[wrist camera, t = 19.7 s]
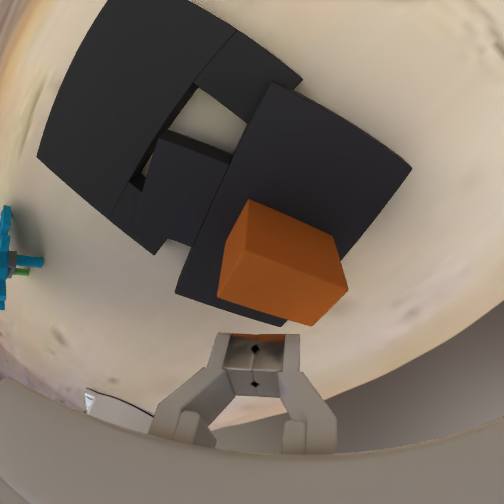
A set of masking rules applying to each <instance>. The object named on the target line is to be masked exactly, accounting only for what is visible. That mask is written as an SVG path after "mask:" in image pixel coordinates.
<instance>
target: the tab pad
mask: <svg viewBox="0 0 504 504" xmlns="http://www.w3.org/2000/svg"><path fill="white" fill-rule="evenodd" d="M411 170H412V167H411V166H410V165H409V164H408V163H407V162H406V161H404V160H403V159H402V158H401V157H400V156H399V155H397V154H396V153H394V152H393V151H392V150H390V149H389V148H388V147H386V146H385V145H383V144H382V143H380V142H379V141H378V140H376V139H375V138H373V137H372V136H370V135H369V134H367V133H366V132H364V131H363V130H361V129H360V128H358V127H357V126H355V125H353V124H352V123H350V122H349V121H347V120H345V119H344V118H342V117H340V116H339V115H337V114H335V113H334V112H332V111H330V110H328V109H327V108H325V107H323V106H321V105H320V104H318V103H316V102H314V101H312V100H311V99H309V98H307V97H305V96H303V95H301V94H299V93H297V92H295V91H293V90H291V89H289V88H287V87H285V86H283V85H281V84H279V83H277V82H275V81H273V80H271V81H270V82H269V84H268V86H267V88H266V90H265V92H264V94H263V96H262V97H261V99H260V101H259V103H258V105H257V107H256V109H255V111H254V113H253V115H252V117H251V119H250V121H249V123H248V125H247V127H246V129H245V131H244V133H243V135H242V137H241V139H240V141H239V143H238V145H237V147H236V149H235V151H234V153H233V155H232V154H230V153H227V152H225V151H222V150H220V149H218V148H215V147H213V146H210V145H208V144H205V143H203V142H200V141H197V140H195V139H192V138H190V137H187V136H184V135H182V134H179V133H176V132H173V131H171V130H167V131H166V132H165V133H163V134H162V135H161V136H160V137H159V138H158V141H157V144H156V147H155V150H154V153H153V156H152V160H151V163H150V166H149V170H148V173H147V177H146V180H145V184H144V188H143V191H142V195H141V199H140V203H139V207H138V211H137V215H136V220H135V225H136V226H138V227H141V228H143V229H146V230H148V231H151V232H154V233H156V234H159V235H162V236H164V237H167V238H169V239H172V240H175V241H177V242H180V243H183V244H185V245H188V246H190V247H191V249H190V252H189V254H188V257H187V259H186V261H185V264H184V266H183V269H182V271H181V274H180V276H179V279H178V283H177V286H176V289H175V294H178V295H181V296H184V297H187V298H190V299H193V300H195V301H198V302H201V303H204V304H207V305H210V306H213V307H216V308H219V309H222V310H225V311H229V312H232V313H235V314H238V315H241V316H244V317H248V318H251V319H254V320H257V321H261V322H264V323H267V324H271V325H274V326H278V327H282V326H283V324H284V323H285V322H286V321H287V320H290V321H294V322H297V323H301V324H304V325H307V326H313V325H314V324H315V323H316V322H317V321H318V320H319V319H320V318H321V317H322V316H323V315H324V314H325V313H326V312H327V311H328V310H329V309H330V308H331V307H332V306H333V305H334V304H335V303H336V302H337V301H338V300H339V299H340V298H341V297H342V296H343V295H344V294H345V293H346V292H347V291H348V286H347V282H346V279H345V275H344V272H343V268H342V265H341V262H340V261H341V260H342V259H343V257H344V256H345V255H346V254H347V253H348V252H349V250H350V249H351V248H352V247H353V245H354V244H355V243H356V242H357V241H358V239H359V238H360V237H361V236H362V234H363V233H364V232H365V231H366V230H367V228H368V227H369V226H370V225H371V223H372V222H373V221H374V219H375V218H376V217H377V216H378V214H379V213H380V212H381V210H382V209H383V208H384V207H385V205H386V204H387V203H388V201H389V200H390V199H391V197H392V196H393V195H394V193H395V192H396V191H397V189H398V188H399V187H400V185H401V184H402V183H403V181H404V180H405V179H406V177H407V176H408V174H409V173H410V172H411Z"/></svg>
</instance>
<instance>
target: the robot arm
mask: <svg viewBox="0 0 504 504" xmlns="http://www.w3.org/2000/svg"><path fill="white" fill-rule="evenodd" d="M235 395H238V396H260V397H276V398H280V399H281V401H282V403H283V405H284V406H285V408H286V410H287V412H288V413H289V415H290V417H291V419H292V420H288V421H287V422H286V423H285V425H284V434H283V442H282V451H281V454H264V453H252V452H251V453H250V452H240V451H233V450H224V449H217V448H215V445H216V438H215V437H214V436H213V434H212V433H211V431H210V430H209V428H208V426H209V425H210V424H211V423H212V422H213V421H214V420H215V418H216V417H217V416H218V415H219V414H220V413H221V412H222V411H223V410H224V409H225V408H226V406H227V405H228V404H229V403H230V402H231V401H232V400H233V399H234V398H235ZM85 403H86V409H87V410H85V412H84V413H83V412H81V411H78V410H76V409H74V408H71V407H69V406H67V405H65V404H62V403H60V402H58V401H56V400H54V399H52V398H50V397H48V396H46V395H44V394H42V393H40V392H38V391H36V390H34V389H32V388H30V387H28V386H26V385H24V384H23V383H21V382H19V381H18V380H16V379H14V378H12V377H7V378H5V379H3V380H1V381H0V504H504V417H501V418H499V419H497V420H494V421H491V422H489V423H486V424H483V425H480V426H478V427H475V428H472V429H469V430H465V431H462V432H459V433H456V434H453V435H449V436H445V437H441V438H438V439H433V440H430V441H425V442H420V443H415V444H410V445H405V446H400V447H394V448H387V449H380V450H373V451H364V452H354V453H341V454H337V418H336V417H335V415H334V414H333V412H332V411H331V410H330V408H329V407H328V406H327V404H326V403H325V402H324V400H323V399H322V398H321V396H320V395H319V393H318V392H317V391H316V389H315V388H314V387H313V385H312V384H311V383H310V381H309V380H308V378H307V377H306V376H305V374H304V373H303V372H300V334H258V335H253V334H234V333H218V334H217V336H216V338H215V342H214V345H213V348H212V352H211V355H210V358H209V362H208V365H207V368H204V367H203V368H202V369H200V370H199V371H198V372H197V373H196V374H195V375H193V376H192V377H191V378H190V379H189V380H187V381H186V382H185V383H184V384H183V385H181V386H180V387H179V388H178V389H176V390H175V391H174V392H173V393H172V394H170V395H169V396H168V397H167V398H165V399H164V400H163V401H162V402H160V403H159V404H158V406H157V409H156V412H155V414H154V417H151V416H150V415H148V414H146V413H144V412H143V411H141V410H139V409H137V408H135V407H133V406H131V405H129V404H127V403H125V402H122V401H120V400H117V399H115V398H112V397H109V396H105V395H101V394H98V393H96V392H94V391H92V390H89V389H86V391H85Z"/></svg>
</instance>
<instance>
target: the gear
mask: <svg viewBox="0 0 504 504" xmlns="http://www.w3.org/2000/svg"><path fill="white" fill-rule="evenodd" d="M10 213H11V206H6V205H4V207H3V210H2V212H1V219H0V310H5V302H4V301H6V281H5V279H7V278H11V277H12V275H13V274H14V275H26V276H29V269H20V268H16V265H19V266H30V267H40V268H42V266H43V258H42V257H32V256H24V255H17V252H16V251H9V243H10V236H9V235H8V230H9V229H10V225H11V216H12V214H10Z"/></svg>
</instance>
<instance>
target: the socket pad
mask: <svg viewBox="0 0 504 504" xmlns="http://www.w3.org/2000/svg"><path fill="white" fill-rule="evenodd" d="M271 80H273V81H275V82H277V83H279V84H281V85H283V86H285V87H287V88H289V89H291V90H293V89H294V88H295V87H296V86H297V85H298V84H299V83H300V82H301V81H302V80H303V79H302V78H301V77H300V76H299V75H298V74H297V73H295V72H294V71H293V70H292V69H290V68H289V67H288V66H287V65H285V64H284V63H283V62H282V61H280V60H279V59H278V58H276V57H275V56H274V55H273V54H271V53H270V52H269V51H267V50H266V49H264V48H263V47H262V46H260V45H259V44H258V43H256V42H255V41H253V40H252V39H250V38H249V37H247V36H246V35H245V34H243V33H242V32H240V31H238V30H237V29H235V28H234V27H232V26H231V25H229V24H228V23H226V22H224V21H223V20H221V19H220V18H218V17H216V16H215V15H213V14H211V13H209V12H208V11H206V10H204V9H202V8H201V7H199V6H197V5H195V4H193V3H191V2H190V1H188V0H108V1H107V2H106V4H105V5H104V7H103V8H102V10H101V11H100V13H99V14H98V16H97V17H96V19H95V21H94V22H93V24H92V26H91V27H90V29H89V31H88V32H87V34H86V36H85V38H84V39H83V41H82V43H81V45H80V47H79V49H78V50H77V52H76V54H75V56H74V58H73V60H72V62H71V64H70V66H69V69H68V71H67V73H66V75H65V77H64V79H63V82H62V84H61V86H60V89H59V91H58V94H57V96H56V99H55V101H54V104H53V106H52V109H51V112H50V115H49V117H48V120H47V123H46V126H45V129H44V132H43V136H42V139H41V142H40V146H39V149H38V153H37V158H38V159H39V160H40V161H41V162H42V163H44V164H45V165H46V166H47V167H48V168H49V169H50V170H51V171H52V172H53V173H55V174H56V175H57V176H58V177H59V178H60V179H61V180H62V181H64V182H65V183H66V184H67V185H68V186H69V187H70V188H72V189H73V190H74V191H75V192H76V193H77V194H79V195H80V196H81V197H82V198H83V199H84V200H86V201H87V202H88V203H89V204H90V205H91V206H93V207H94V208H95V209H96V210H97V211H99V212H100V213H101V214H102V215H104V216H105V217H106V218H107V219H109V220H110V221H111V222H112V223H113V224H115V225H116V226H117V227H118V228H120V229H121V230H122V231H123V232H125V233H126V234H127V235H128V236H130V237H131V238H132V239H133V240H135V241H136V242H137V243H139V244H140V245H141V246H142V247H144V248H145V249H146V250H148V251H149V252H150V253H152V254H153V255H155V254H156V253H157V251H158V250H159V249H160V247H161V246H162V245H163V243H164V242H165V241H166V239H167V237H164V236H162V235H159V234H156V233H154V232H151V231H148V230H146V229H143V228H141V227H138V226H136V225H135V220H136V215H137V211H138V207H139V203H140V199H141V195H142V191H143V188H144V184H145V180H146V178H145V177H144V176H142V175H141V174H140V173H141V171H142V169H143V168H144V166H145V164H146V163H147V161H148V159H149V158H150V156H151V154H152V153H153V151H154V150H155V147H156V144H157V141H158V138H159V137H160V136H161V135H162V134H163V133H165V132H166V131H167V130H168V128H169V127H170V125H171V124H172V122H173V121H174V119H175V118H176V117H177V115H178V114H179V112H180V111H181V110H182V108H183V107H184V105H185V104H186V103H187V101H188V100H189V99H190V97H191V96H192V95H193V93H194V92H195V91H196V89H197V88H198V87H200V88H201V89H203V90H204V91H206V92H207V93H208V94H210V95H211V96H212V97H214V98H215V99H216V100H218V101H219V102H220V103H222V104H223V105H224V106H226V107H227V108H228V109H229V110H231V111H232V112H233V113H235V114H236V115H237V116H238V117H240V118H241V119H242V120H243V121H245V122H246V123H247V124H248V123H249V121H250V119H251V117H252V115H253V113H254V111H255V109H256V107H257V105H258V103H259V101H260V99H261V97H262V96H263V94H264V92H265V90H266V88H267V86H268V84H269V82H270V81H271Z"/></svg>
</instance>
